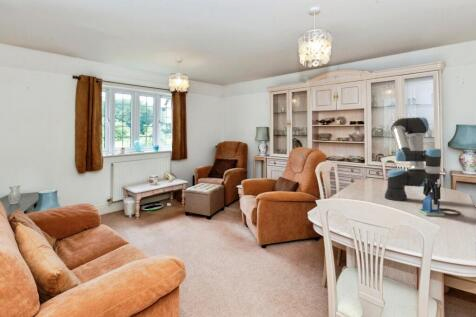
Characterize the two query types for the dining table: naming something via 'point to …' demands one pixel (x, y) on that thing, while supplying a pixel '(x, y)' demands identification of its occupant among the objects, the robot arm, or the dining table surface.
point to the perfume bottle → (429, 204)
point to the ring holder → (450, 213)
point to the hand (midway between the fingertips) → (430, 207)
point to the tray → (430, 213)
